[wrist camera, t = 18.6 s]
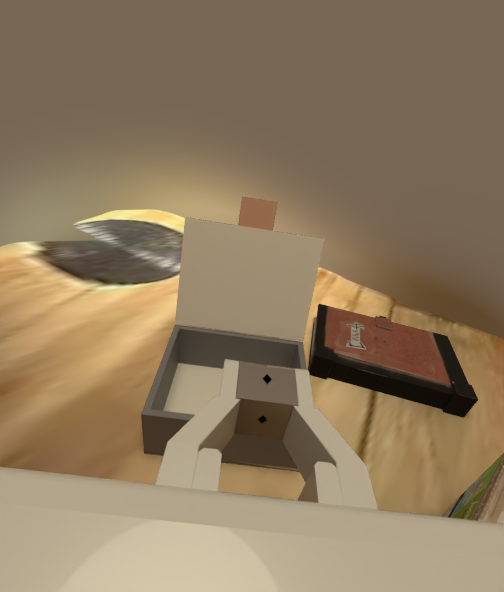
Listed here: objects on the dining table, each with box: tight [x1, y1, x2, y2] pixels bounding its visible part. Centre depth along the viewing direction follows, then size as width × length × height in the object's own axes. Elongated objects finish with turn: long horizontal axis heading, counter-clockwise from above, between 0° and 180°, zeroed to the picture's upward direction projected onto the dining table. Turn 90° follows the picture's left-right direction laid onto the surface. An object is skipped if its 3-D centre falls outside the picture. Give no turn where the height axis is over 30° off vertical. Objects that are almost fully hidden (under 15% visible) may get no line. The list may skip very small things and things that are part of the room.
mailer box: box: [141, 325, 306, 472], centre depth 45 cm, size 20×16×8 cm
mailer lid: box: [175, 197, 324, 341], centre depth 47 cm, size 20×20×1 cm
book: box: [308, 304, 478, 418], centre depth 60 cm, size 26×18×5 cm
